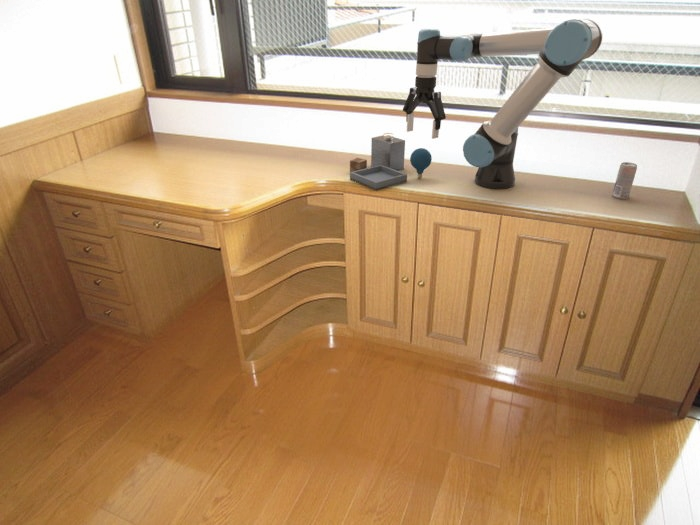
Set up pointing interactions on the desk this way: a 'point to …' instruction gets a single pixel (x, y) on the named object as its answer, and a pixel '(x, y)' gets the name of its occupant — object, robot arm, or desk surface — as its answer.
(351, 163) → the walnut block
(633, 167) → the energy drink
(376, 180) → the tray
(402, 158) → the block
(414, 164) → the light bulb
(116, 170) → the desk surface
